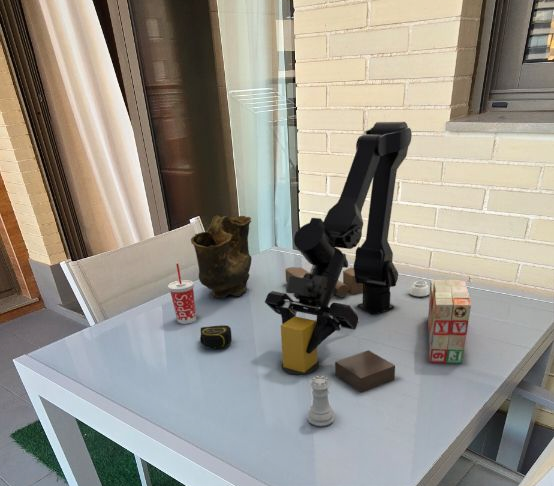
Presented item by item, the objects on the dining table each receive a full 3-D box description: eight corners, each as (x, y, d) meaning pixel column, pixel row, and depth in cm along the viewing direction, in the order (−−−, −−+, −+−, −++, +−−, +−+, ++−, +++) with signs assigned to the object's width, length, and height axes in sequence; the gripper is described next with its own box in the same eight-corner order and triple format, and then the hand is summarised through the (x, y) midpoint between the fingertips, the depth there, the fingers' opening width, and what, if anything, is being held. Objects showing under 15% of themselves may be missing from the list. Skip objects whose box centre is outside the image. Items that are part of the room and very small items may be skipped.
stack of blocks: (427, 319, 123) (432, 265, 116) (455, 319, 122) (462, 265, 115) (429, 363, 106) (435, 303, 99) (463, 364, 105) (471, 303, 98)
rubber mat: (274, 364, 110) (274, 362, 110) (306, 353, 113) (306, 352, 113) (294, 379, 104) (294, 377, 104) (326, 367, 107) (326, 366, 107)
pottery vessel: (228, 275, 158) (219, 204, 147) (263, 276, 155) (257, 204, 144) (191, 307, 139) (179, 228, 128) (230, 310, 135) (221, 229, 124)
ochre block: (296, 357, 111) (294, 316, 106) (317, 362, 109) (316, 320, 104) (283, 367, 108) (280, 325, 103) (304, 372, 105) (302, 330, 100)
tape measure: (232, 337, 122) (230, 322, 120) (232, 350, 116) (230, 334, 114) (202, 340, 122) (199, 324, 120) (200, 353, 116) (198, 337, 114)
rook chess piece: (306, 414, 93) (304, 374, 89) (331, 411, 94) (331, 371, 89) (309, 429, 90) (308, 387, 85) (336, 426, 90) (336, 384, 85)
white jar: (413, 289, 139) (406, 296, 135) (414, 278, 137) (407, 284, 134) (432, 292, 136) (425, 298, 133) (433, 280, 135) (426, 287, 131)
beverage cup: (169, 323, 131) (158, 266, 123) (182, 314, 136) (172, 258, 128) (191, 326, 129) (181, 268, 121) (203, 316, 133) (195, 259, 126)
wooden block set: (314, 283, 131) (283, 264, 145) (314, 305, 135) (285, 284, 149) (373, 269, 137) (338, 252, 150) (373, 290, 140) (338, 272, 154)
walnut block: (335, 375, 104) (335, 361, 103) (368, 363, 107) (368, 350, 106) (360, 392, 98) (360, 378, 97) (394, 379, 101) (395, 365, 100)
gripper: (266, 250, 104) (237, 324, 103) (352, 262, 95) (320, 344, 93) (291, 277, 114) (264, 346, 112) (371, 291, 104) (343, 365, 103)
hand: (295, 349), depth 105 cm, fingers open, 5 cm apart
